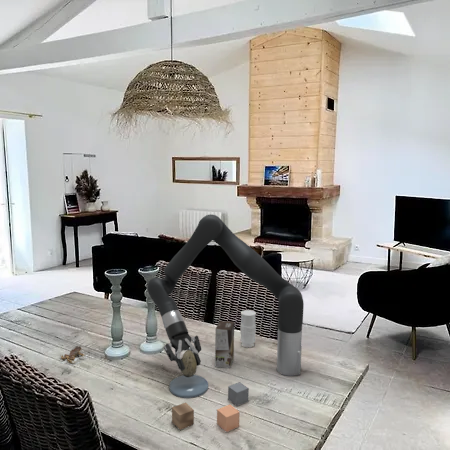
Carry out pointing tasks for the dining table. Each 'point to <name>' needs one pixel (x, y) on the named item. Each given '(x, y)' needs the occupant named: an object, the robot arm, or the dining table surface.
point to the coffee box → (224, 344)
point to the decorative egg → (189, 364)
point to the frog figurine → (72, 356)
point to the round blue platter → (188, 386)
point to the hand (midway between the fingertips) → (191, 367)
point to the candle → (248, 328)
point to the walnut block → (182, 415)
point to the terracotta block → (228, 418)
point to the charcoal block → (238, 393)
